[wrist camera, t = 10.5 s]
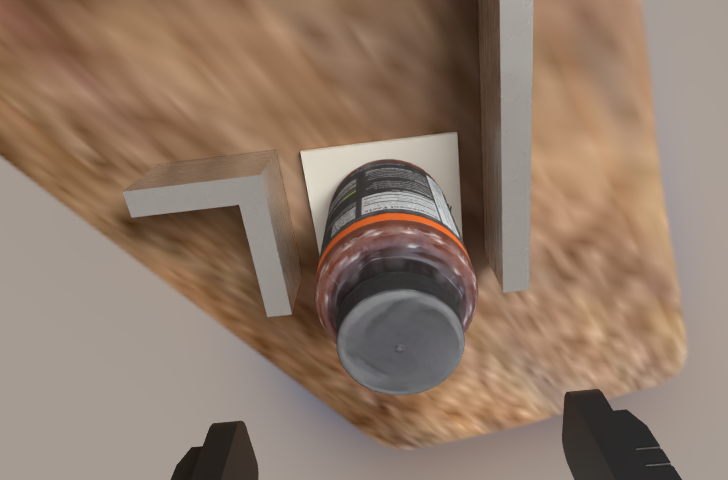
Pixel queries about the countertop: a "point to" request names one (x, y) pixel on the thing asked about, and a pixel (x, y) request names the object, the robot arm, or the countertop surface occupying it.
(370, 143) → the pad
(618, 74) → the countertop surface
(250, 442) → the robot arm
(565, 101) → the countertop surface
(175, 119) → the countertop surface
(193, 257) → the countertop surface
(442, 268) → the supplement bottle
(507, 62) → the grey angled wall frame
